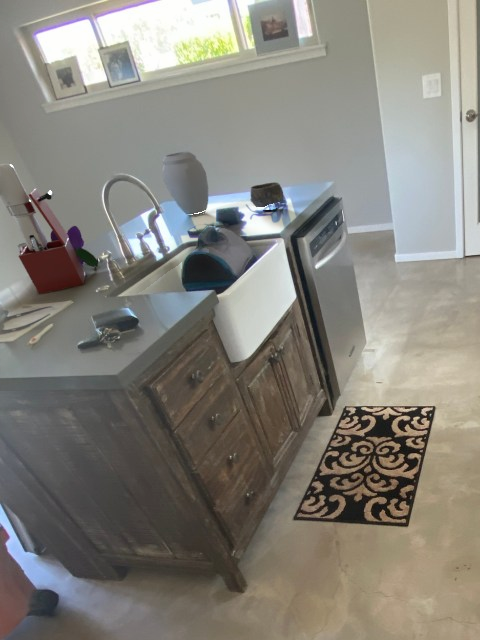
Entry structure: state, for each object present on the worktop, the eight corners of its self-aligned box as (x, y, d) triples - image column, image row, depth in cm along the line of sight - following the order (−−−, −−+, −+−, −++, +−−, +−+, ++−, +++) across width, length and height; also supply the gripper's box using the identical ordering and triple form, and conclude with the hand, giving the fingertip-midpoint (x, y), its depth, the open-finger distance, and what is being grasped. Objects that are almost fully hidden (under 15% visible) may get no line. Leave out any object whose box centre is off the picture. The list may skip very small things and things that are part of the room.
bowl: (286, 210, 232) (280, 185, 225) (252, 216, 231) (245, 190, 225) (286, 204, 242) (281, 179, 236) (254, 209, 242) (247, 185, 235)
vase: (223, 207, 255) (206, 148, 238) (207, 217, 240) (188, 155, 224) (187, 211, 258) (168, 152, 242) (169, 221, 244) (148, 160, 228)
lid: (28, 194, 161) (43, 188, 162) (34, 188, 171) (48, 182, 171) (62, 245, 172) (77, 239, 172) (66, 237, 182) (80, 231, 182)
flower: (112, 275, 204) (81, 258, 204) (110, 238, 193) (78, 220, 192) (85, 288, 194) (53, 271, 194) (81, 250, 183) (47, 232, 183)
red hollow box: (39, 294, 177) (18, 256, 169) (43, 283, 187) (24, 246, 179) (83, 284, 180) (64, 246, 172) (85, 274, 190) (68, 237, 182)
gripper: (13, 207, 173) (43, 264, 185) (4, 217, 161) (37, 277, 173) (37, 203, 175) (65, 260, 187) (30, 212, 162) (60, 272, 174)
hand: (51, 267), depth 180 cm, fingers closed on supplement bottle, 5 cm apart
